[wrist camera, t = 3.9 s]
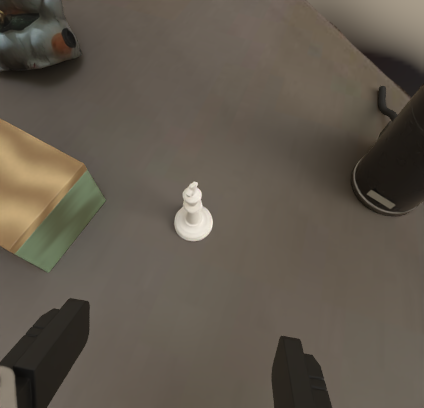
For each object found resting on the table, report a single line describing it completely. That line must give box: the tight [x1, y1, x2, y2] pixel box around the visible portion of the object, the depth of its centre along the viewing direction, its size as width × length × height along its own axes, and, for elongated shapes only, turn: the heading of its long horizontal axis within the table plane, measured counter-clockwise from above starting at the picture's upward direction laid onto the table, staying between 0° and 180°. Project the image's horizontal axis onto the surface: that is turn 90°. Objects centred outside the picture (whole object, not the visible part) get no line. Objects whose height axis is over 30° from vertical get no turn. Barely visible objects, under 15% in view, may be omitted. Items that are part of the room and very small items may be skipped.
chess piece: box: [174, 182, 213, 241], centre depth 37 cm, size 5×5×10 cm
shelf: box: [0, 119, 106, 273], centre depth 38 cm, size 11×16×9 cm
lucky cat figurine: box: [0, 0, 82, 71], centre depth 48 cm, size 15×12×14 cm
